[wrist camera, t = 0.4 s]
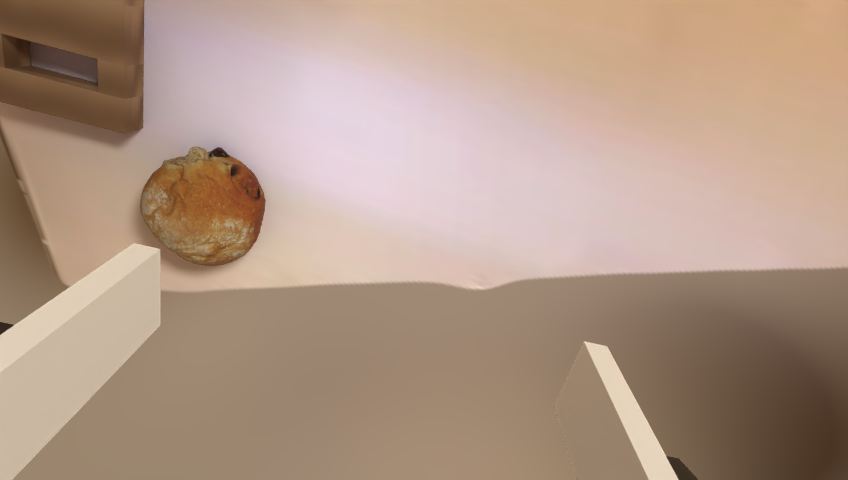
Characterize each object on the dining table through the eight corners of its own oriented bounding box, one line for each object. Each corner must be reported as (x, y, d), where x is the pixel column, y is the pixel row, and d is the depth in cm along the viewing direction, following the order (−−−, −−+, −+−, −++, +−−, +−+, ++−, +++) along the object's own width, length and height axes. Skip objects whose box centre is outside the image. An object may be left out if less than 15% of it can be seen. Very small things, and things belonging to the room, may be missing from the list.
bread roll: (172, 187, 45) (114, 244, 40) (183, 113, 38) (114, 171, 33) (263, 238, 47) (220, 299, 42) (291, 177, 40) (242, 241, 35)
